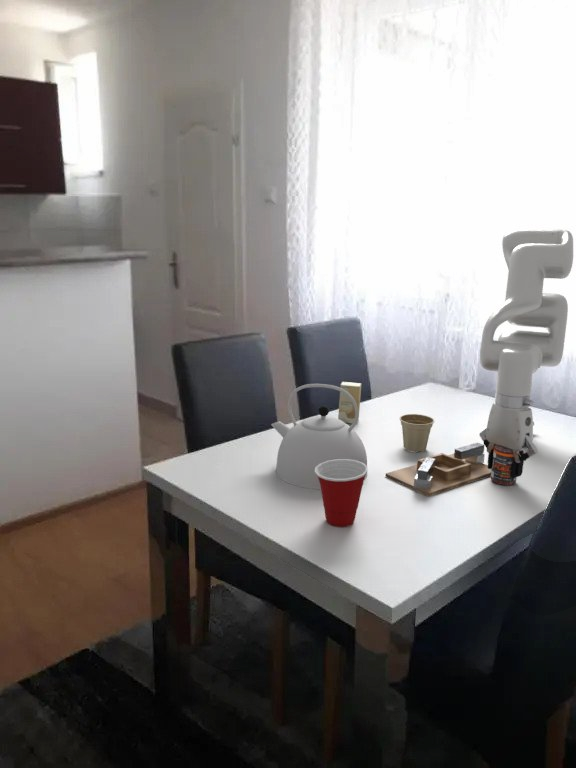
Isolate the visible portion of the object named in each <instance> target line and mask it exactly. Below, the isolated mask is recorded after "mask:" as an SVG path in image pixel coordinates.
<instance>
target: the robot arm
mask: <svg viewBox="0 0 576 768" xmlns="http://www.w3.org/2000/svg"><path fill="white" fill-rule="evenodd" d="M501 245H502V253H503V257H504V260H505V263H506V265H507V268H508V272H507V273H508V274H507V281H506V282H507V283H506V288H505V289H506V291H505V298H504V302H503V303H502V304H501V305H500V306H498V308H496V309H495V310H494V311H493V312H492V313H491V315H489V317H488V319H487V321H486V322H485V324H484V327H483V329H482V335H481V342H480V350H479V351H480V352H479V362H480V366H481V367H482V368H483V369H485V370H486V371H489V372H497V377H496V384H495V385H496V386H495V395H494V402H493V403H492V405H491V408H490V410H489V415H488V419H487V424H486V425H487V426H486V428H485V429H483V430H482V431H480V432H479V437H480V439H481V440H482V442H483V445H484V447H485V448H486V453H488V456H487V465H488V469H492V461H493V452H494V446H495V445H501V446H504V447H506V448H508V449H511V450H513V453H514V458H515V462H513V463H512V472H511V477H512V478H516V477H517V478H518V477H521V476H522V474H523V471H524V470H523V469H524V464H525V463H524V462H526V461H527V460H528V459H529V458H531V457H532V456H535V455H536V454H537V453H538V449H537V448H536V445H535V444H534V443H533V438H534V437H533V436H534V435H533V434H534V426H535V421H534V417H533V410H532V407H533V406H534V401H533V400H531V391H532V385H533V384H532V383H533V382H532V380H533V375H534V374H535V373H536V372H537V371H538V370H539V369H540V368H541V367H546V368H547V367H549V368H551V367H552V368H553V367H556V366H559V364H560V363H561V362H562V360H563V355H564V349H565V348H564V347H565V338H566V332H567V331H566V330H567V324H568V314H569V313H568V312H569V311H568V309H569V307H568V306H569V305H568V302H567V301H568V300H567V298H566V297H565V296H564V295H562V294H559V293H549V292H548V293H547V292H543V291H544V281H545V280H544V279H565V278H567V277H568V276H569V275H570V273H571V271H572V268H573V263H574V237H573V234H572V232H571V231H569V230H567V229H559V228H557V229H551V228H549V229H548V228H547V229H543V228H516V229H510V230H508V231H506V232H505V233H504V234H503V236H502V244H501ZM505 322H508V323H509V324H511V325H513V326H517V327H518V326H519V327H521V326H522V327H530V328H531V327H532V328H543V329H546V330H547V332H545V331H532V330H531V331H530V330H517V329H516V330H515V329H514V330H512V329H511V330H507V331H504V332H502V333H501V334H500V335H499V337H498V339H497V340H494V336H495V333H496V331H497V329H498V327H499V326H501V325H502V324H504V323H505ZM525 449H527V451H526V450H525ZM519 453H520V454H519ZM517 478H516V479H517Z"/></svg>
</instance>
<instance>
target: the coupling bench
mask: <svg viewBox="0 0 576 768" xmlns="http://www.w3.org/2000/svg"><path fill="white" fill-rule="evenodd" d="M426 457H427V458H433V459H435V468H434V470H433V471H432V473H431V474H430V476H433V477H432V487H431V488H430V490H429V491H428V490H422V489H417V488H414V478H415V476H416V475H417V474H418V469H419V468H420V466H421V465H422V463H423V462H424V460H425V459H426ZM426 457H423V458H420V459H417V461H416V464H414V465H409V466H407V467H403V468H400V469H396V470H392V471H390V472H386V473H385V478H388V479H390V480H392V481H395V482H396V483H399V484H400V485H403V486H405V487H407V488H409V489H411V490H414V491H416V492H418V493H420V494H422V495H425V496H427V497H432V496H435V495H437V494H441V493H443V492H446V491H449V490H452V489H455V488H458V487H461V486H464V485H468V484H470V483H473V482H475V481H478V480H482V479H485V478H488V477H491V469H488V464H485V463H482V464H479V465H474V464H472V463H469V462H467V461H465V459H462V460H460V459H457V458H455V457H454V453H452V454H446V453H442V452H441V453H438V454H434V455H430V456H426Z"/></svg>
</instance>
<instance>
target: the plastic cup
mask: <svg viewBox="0 0 576 768" xmlns="http://www.w3.org/2000/svg"><path fill="white" fill-rule="evenodd" d="M368 471H369V469H368V465H367V466H366V465H365V464H364V463H362V462H359V461H356V460H349V459H336V460H330V461H326V462H323V463H320V464H319V465H318V466H316V467H315V473H316V474H317V476H318V479H319V482H320V486H321V490H320V491H321V498H322V504H323V507H324V508H323V509H324V516H325V520H326V522H327V524H328V525H331V526H332V527H337V528H346V527H350V526H352V525H353V524H354V522H355V520H356V516H357V511H358V507H359V503H360V499H361V493H362V489H363V485H364V481H365V480H364V478H365V475H366V473H367V474H368Z"/></svg>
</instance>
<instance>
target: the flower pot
mask: <svg viewBox="0 0 576 768" xmlns="http://www.w3.org/2000/svg"><path fill="white" fill-rule="evenodd" d="M399 421H400V425H401V430H402V441H403V445H402V446H403V448H404V449H405V451H408V452H413V453H417V452H420V453H421V452H425V451H427V447H428V443H429V439H430V438H429V437H430V434H431V430H432V427H433V426H434V425H433V424H434V423H435V418H433V417H432V416H429V415H425V414H418V413H407V414H402V415H401V416H400V417H399Z"/></svg>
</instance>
